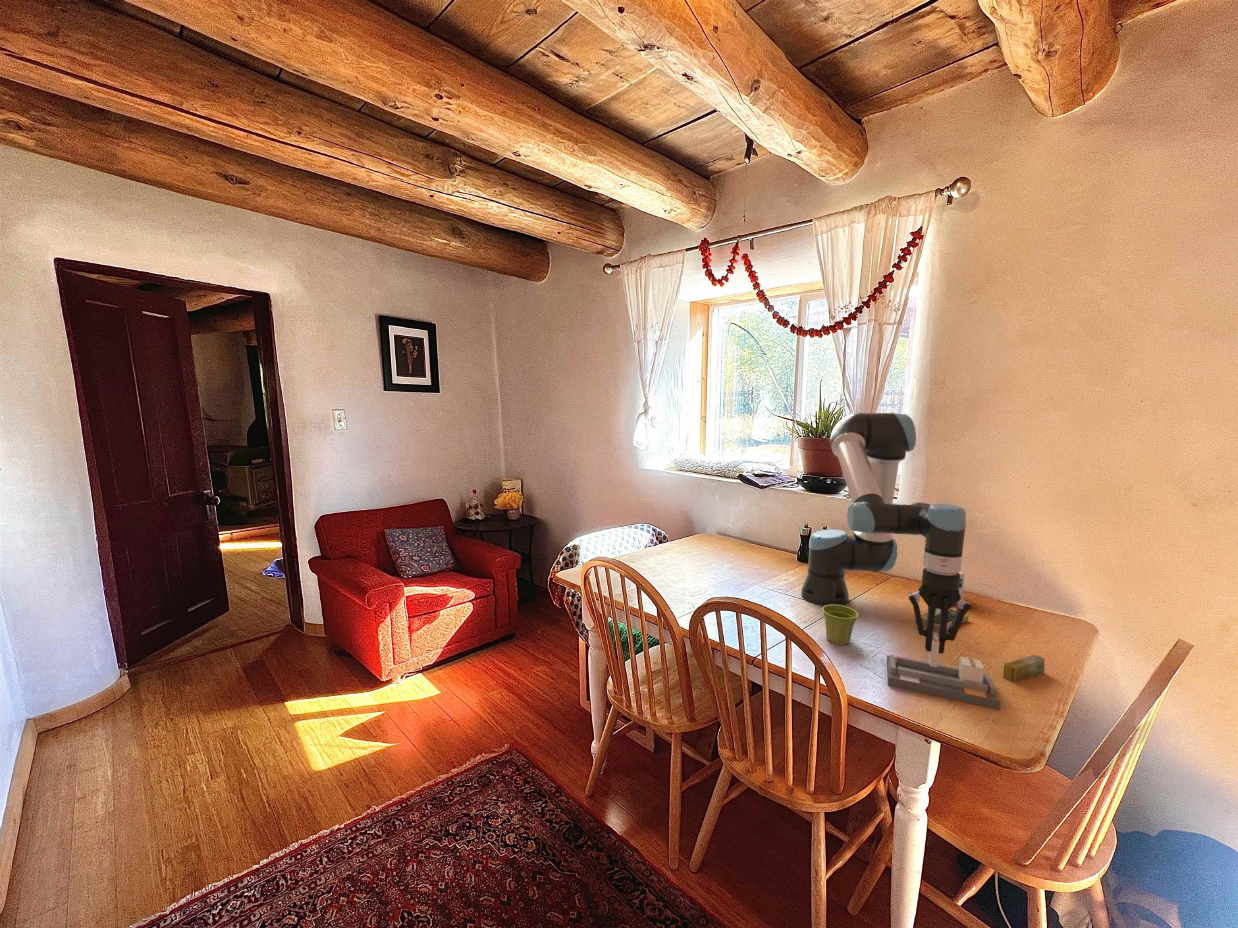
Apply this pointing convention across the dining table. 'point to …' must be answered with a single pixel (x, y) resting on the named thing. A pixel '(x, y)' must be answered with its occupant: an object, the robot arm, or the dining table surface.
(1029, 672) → the medication box
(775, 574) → the dining table surface
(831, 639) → the plant pot
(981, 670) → the white cardboard box
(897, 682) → the grey tray
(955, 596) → the robot arm
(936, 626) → the computer
